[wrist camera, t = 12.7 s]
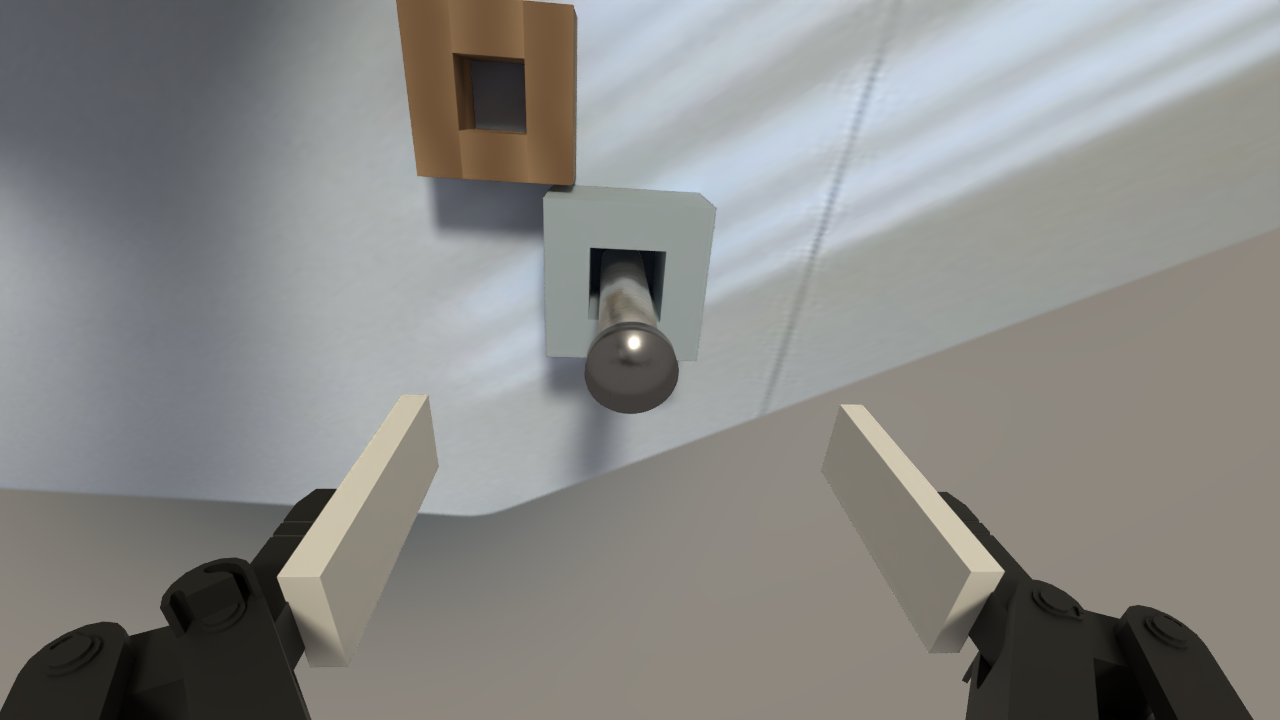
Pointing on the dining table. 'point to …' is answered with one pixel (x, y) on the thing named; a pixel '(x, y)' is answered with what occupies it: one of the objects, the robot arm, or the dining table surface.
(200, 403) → the dining table surface
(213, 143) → the dining table surface
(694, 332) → the socket block
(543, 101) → the mount block
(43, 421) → the dining table surface
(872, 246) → the dining table surface
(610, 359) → the lock pin
